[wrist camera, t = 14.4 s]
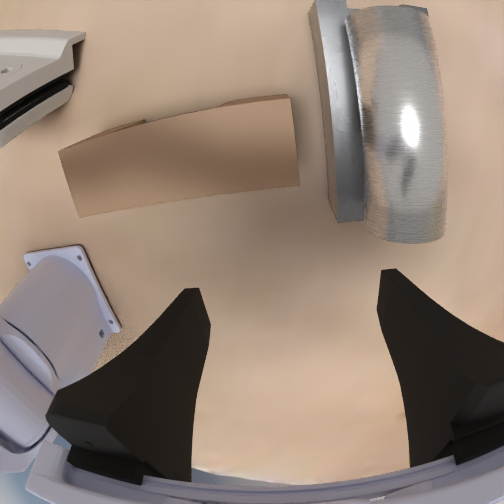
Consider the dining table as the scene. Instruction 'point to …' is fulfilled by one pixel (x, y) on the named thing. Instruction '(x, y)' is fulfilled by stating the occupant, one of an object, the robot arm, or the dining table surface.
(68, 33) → the hinge
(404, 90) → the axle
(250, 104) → the beam
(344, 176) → the v block
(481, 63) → the dining table surface
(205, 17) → the dining table surface
